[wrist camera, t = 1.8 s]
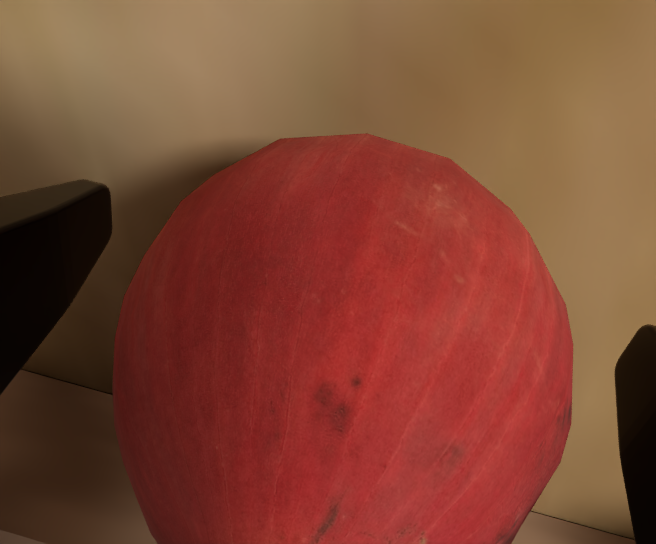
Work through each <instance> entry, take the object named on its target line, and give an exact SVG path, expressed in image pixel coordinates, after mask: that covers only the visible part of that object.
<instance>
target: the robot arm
mask: <svg viewBox="0 0 656 544" xmlns="http://www.w3.org/2000/svg"><path fill="white" fill-rule="evenodd" d="M111 233H112V211H111V195H110V191H109V188H108V187H107V186H106V185H104V184H101V183H97V182H93V181H89V180H77V181H73V182H68V183H64V184H59V185H54V186H50V187H45V188H41V189H36V190H31V191H27V192H22V193H18V194H13V195H8V196H4V197H0V395H1V394H2V393H3V391H4V390H5V389H6V388H7V386H8V385H9V384H10V382H11V381H12V380H13V379H14V377H15V376H16V375H17V373H18V372H19V371H20V370H21V368H22V367H23V366H24V364H25V363H26V362H27V361H28V359H29V358H30V357H31V355H32V354H33V353H34V352H35V350H36V349H37V348H38V346H39V345H40V344H41V343H42V341H43V340H44V339H45V337H46V336H47V335H48V334H49V332H50V331H51V330H52V328H53V327H54V326H55V325H56V323H57V322H58V321H59V319H60V318H61V317H62V315H63V314H64V313H65V311H66V310H67V309H68V307H69V306H70V304H71V303H72V301H73V300H74V298H75V297H76V295H77V293H78V292H79V290H80V288H81V287H82V285H83V283H84V282H85V280H86V278H87V277H88V275H89V273H90V272H91V270H92V268H93V267H94V265H95V263H96V262H97V260H98V258H99V257H100V255H101V253H102V252H103V250H104V248H105V247H106V245H107V243H108V241H109V240H110V237H111ZM615 389H616V406H617V423H618V440H619V451H620V459H621V466H622V472H623V477H624V483H625V488H626V494H627V499H628V504H629V510H630V515H631V521H632V526H633V532H634V537H635V543H636V544H656V326H654V325H649V324H647V325H644V326H642V327H641V328H640V329H639V330H638V331H637V332H636V334H635V335H634V337H633V338H632V340H631V341H630V343H629V344H628V346H627V347H626V349H625V350H624V352H623V353H622V355H621V356H620V358H619V359H618V361H617V364H616V367H615Z"/></svg>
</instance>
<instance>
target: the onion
mask: <svg viewBox="0 0 656 544" xmlns="http://www.w3.org/2000/svg"><path fill="white" fill-rule="evenodd" d="M572 373H573V341H572V336H571V330H570V325H569V320H568V314H567V309H566V304H565V302H564V300H563V298H562V296H561V295H560V293H559V291H558V289H557V287H556V285H555V283H554V281H553V279H552V277H551V275H550V273H549V271H548V269H547V267H546V265H545V263H544V261H543V259H542V257H541V255H540V253H539V251H538V249H537V248H536V246H535V244H534V242H533V240H532V238H531V236H530V234H529V232H528V231H527V230H526V229H525V227H524V226H523V225H522V223H521V222H520V221H519V219H518V218H517V217H516V215H515V214H514V213H513V211H512V210H511V209H510V208H509V207H508V206H506V205H505V204H504V203H503V202H502V201H500V200H499V199H498V198H497V197H496V196H494V195H493V194H492V193H491V192H490V191H488V190H487V189H486V188H485V187H484V186H482V185H481V184H480V183H479V182H478V181H476V180H475V179H474V178H473V177H472V176H470V175H469V174H468V173H467V172H466V171H464V170H463V169H462V168H461V167H459V166H458V165H457V164H456V163H455V162H453V161H452V160H451V159H449V158H446V157H443V156H439V155H436V154H433V153H429V152H426V151H423V150H420V149H416V148H413V147H410V146H406V145H403V144H400V143H396V142H393V141H390V140H386V139H383V138H380V137H376V136H373V135H370V134H351V135H334V136H317V137H300V138H284V139H279V140H277V141H275V142H273V143H271V144H270V145H268V146H266V147H264V148H262V149H260V150H259V151H257V152H255V153H253V154H251V155H249V156H247V157H246V158H244V159H242V160H240V161H238V162H236V163H235V164H233V165H231V166H229V167H227V168H225V169H223V170H222V171H220V172H218V173H216V174H214V175H213V176H212V177H210V178H209V179H208V180H207V181H205V182H204V183H203V184H202V185H200V186H199V187H198V188H197V189H196V190H194V191H193V192H192V193H191V194H189V195H188V196H187V197H186V198H184V199H183V200H182V201H181V202H180V204H179V205H178V207H177V208H176V209H175V211H174V212H173V214H172V215H171V217H170V218H169V220H168V221H167V223H166V224H165V226H164V227H163V228H162V230H161V231H160V233H159V234H158V236H157V237H156V239H155V240H154V242H153V243H152V245H151V246H150V247H149V249H148V250H147V252H146V253H145V255H144V256H143V258H142V260H141V263H140V265H139V267H138V269H137V271H136V273H135V275H134V277H133V279H132V281H131V283H130V285H129V287H128V289H127V291H126V293H125V295H124V299H123V303H122V308H121V312H120V317H119V321H118V326H117V330H116V335H115V345H114V366H113V387H112V392H113V410H114V426H115V431H116V435H117V439H118V444H119V448H120V452H121V456H122V461H123V463H124V466H125V469H126V471H127V474H128V477H129V480H130V482H131V485H132V488H133V490H134V493H135V496H136V498H137V501H138V503H139V506H140V508H141V511H142V513H143V516H144V518H145V521H146V523H147V526H148V528H149V531H150V533H151V535H152V536H153V538H154V539H155V541H156V542H157V544H511V543H512V542H513V540H514V538H515V536H516V534H517V533H518V531H519V529H520V527H521V525H522V524H523V522H524V521H525V519H526V517H527V516H528V514H529V512H530V511H531V509H532V508H533V506H534V504H535V503H536V501H537V499H538V498H539V496H540V495H541V493H542V491H543V490H544V488H545V486H546V485H547V483H548V482H549V480H550V478H551V477H552V475H553V473H554V472H555V470H556V469H557V467H558V465H559V464H560V462H561V458H562V455H563V451H564V447H565V444H566V440H567V437H568V433H569V430H570V426H571V414H572Z"/></svg>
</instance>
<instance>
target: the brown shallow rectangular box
mask: <svg viewBox="0 0 656 544" xmlns="http://www.w3.org/2000/svg"><path fill="white" fill-rule="evenodd" d="M0 544H157V542H156V541H155V539H154V538H153V536H152V535H151V533H150V531H149V528H148V526H147V523H146V521H145V518H144V516H143V513H142V511H141V508H140V506H139V503H138V501H137V498H136V496H135V493H134V490H133V488H132V485H131V482H130V480H129V477H128V474H127V471H126V469H125V466H124V463H123V461H122V456H121V452H120V448H119V444H118V439H117V435H116V431H115V426H114V410H113V395H110V394H106V393H103V392H99V391H96V390H92V389H88V388H85V387H81V386H78V385H74V384H70V383H67V382H63V381H60V380H56V379H52V378H49V377H45V376H42V375H38V374H34V373H31V372H27V371H24V370H20V371H19V372H18V373H17V375H16V376H15V377H14V379H13V380H12V381H11V382H10V384H9V385H8V386H7V388H6V389H5V390H4V391H3V393H2V394H1V395H0ZM511 544H636V543H635V540H632V539H628V538H624V537H621V536H617V535H614V534H610V533H606V532H603V531H599V530H596V529H592V528H588V527H585V526H581V525H578V524H574V523H570V522H567V521H563V520H560V519H556V518H552V517H549V516H545V515H542V514H538V513H534V512H531V511H530V512H529V514H528V516H527V517H526V519H525V521H524V522H523V524H522V525H521V527H520V529H519V531H518V533H517V534H516V536H515V538H514V540H513V542H512V543H511Z"/></svg>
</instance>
